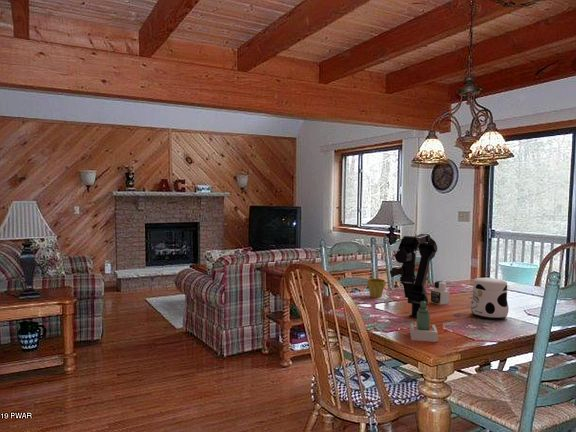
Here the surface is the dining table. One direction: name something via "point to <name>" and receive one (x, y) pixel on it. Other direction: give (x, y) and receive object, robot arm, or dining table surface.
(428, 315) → the glass bottle
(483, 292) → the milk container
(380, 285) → the plant pot
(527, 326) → the dining table surface
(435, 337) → the u rest
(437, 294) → the medicine bottle
